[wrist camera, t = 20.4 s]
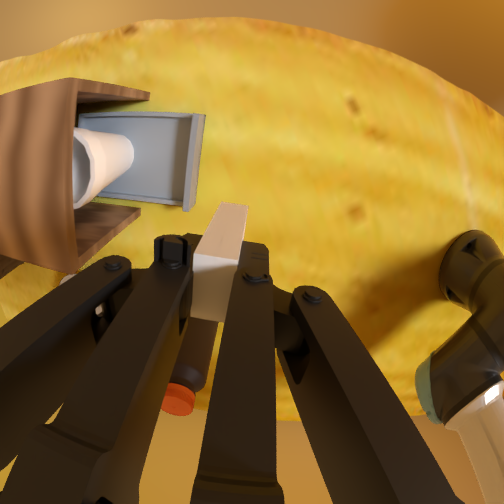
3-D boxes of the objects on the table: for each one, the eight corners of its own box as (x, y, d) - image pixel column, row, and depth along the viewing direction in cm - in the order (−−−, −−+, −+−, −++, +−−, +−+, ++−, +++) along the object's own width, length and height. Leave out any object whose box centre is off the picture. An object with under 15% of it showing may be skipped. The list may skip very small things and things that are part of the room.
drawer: (205, 115, 35) (199, 113, 31) (195, 203, 40) (188, 211, 37) (86, 113, 34) (71, 114, 31) (83, 190, 40) (69, 197, 36)
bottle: (191, 292, 47) (156, 384, 29) (226, 310, 48) (208, 405, 30) (176, 318, 50) (143, 405, 31) (209, 334, 51) (188, 424, 33)
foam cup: (83, 142, 35) (27, 154, 24) (129, 112, 34) (76, 112, 22) (105, 194, 39) (55, 222, 27) (152, 169, 37) (108, 190, 25)
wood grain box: (150, 92, 33) (70, 77, 16) (140, 215, 41) (72, 275, 24) (75, 97, 33) (-12, 99, 16) (72, 206, 41) (-4, 253, 24)
